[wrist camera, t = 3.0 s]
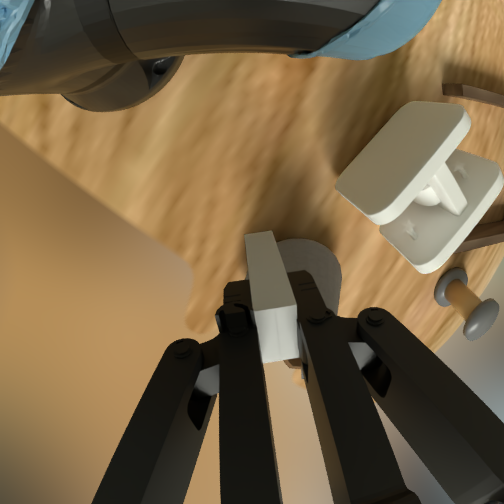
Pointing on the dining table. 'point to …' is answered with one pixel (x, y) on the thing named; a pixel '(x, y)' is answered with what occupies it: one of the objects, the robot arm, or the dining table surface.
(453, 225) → the cable organizer
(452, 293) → the mushroom drawer knob
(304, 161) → the dining table surface
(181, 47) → the robot arm
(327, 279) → the coffee pot
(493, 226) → the notched bay
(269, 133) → the dining table surface
